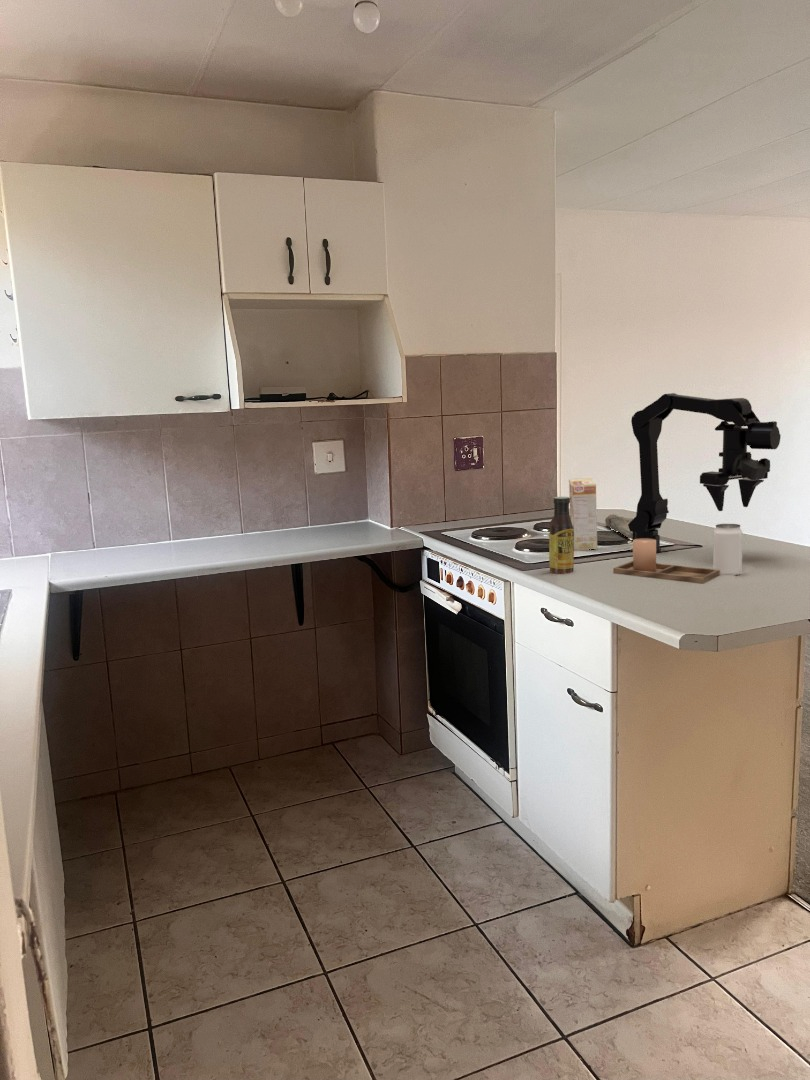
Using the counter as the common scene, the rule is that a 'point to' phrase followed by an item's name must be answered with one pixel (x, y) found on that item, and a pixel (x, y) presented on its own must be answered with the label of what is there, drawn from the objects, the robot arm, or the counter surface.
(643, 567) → the jar
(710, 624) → the counter surface
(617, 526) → the elongated rock
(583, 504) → the coffeecake box
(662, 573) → the wooden divided tray
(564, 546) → the sauce bottle
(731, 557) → the can
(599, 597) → the counter surface
